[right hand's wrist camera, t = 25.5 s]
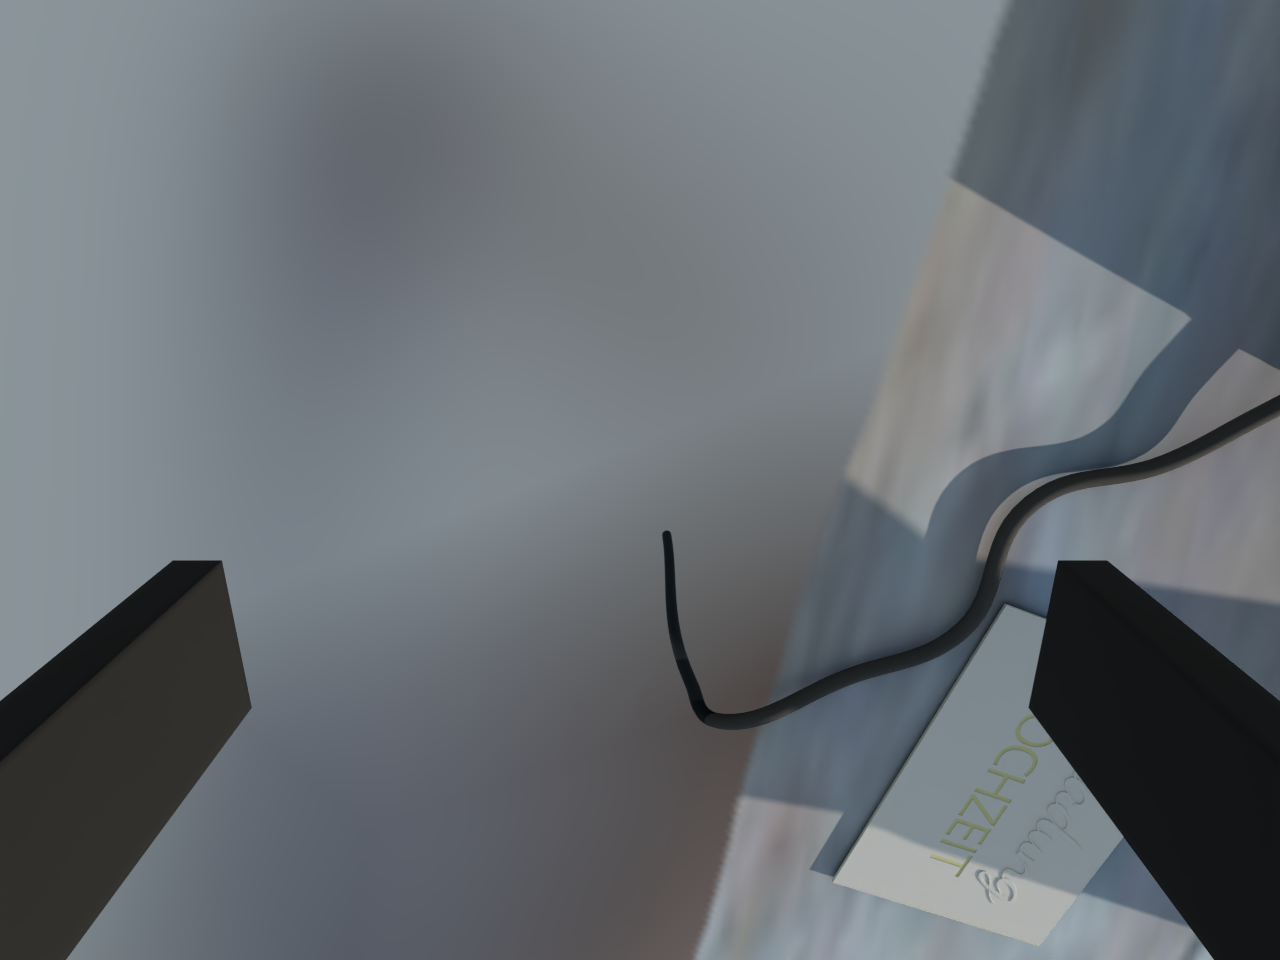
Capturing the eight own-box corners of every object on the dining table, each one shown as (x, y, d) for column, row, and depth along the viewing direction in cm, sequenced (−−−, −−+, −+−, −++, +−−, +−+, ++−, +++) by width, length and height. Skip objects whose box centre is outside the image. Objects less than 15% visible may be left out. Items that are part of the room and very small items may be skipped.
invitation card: (1006, 605, 44) (1237, 690, 45) (1004, 603, 44) (1234, 688, 46) (833, 883, 50) (1039, 947, 52) (832, 879, 51) (1037, 943, 53)
